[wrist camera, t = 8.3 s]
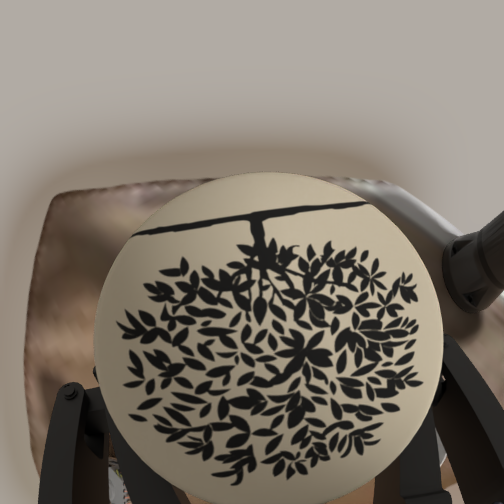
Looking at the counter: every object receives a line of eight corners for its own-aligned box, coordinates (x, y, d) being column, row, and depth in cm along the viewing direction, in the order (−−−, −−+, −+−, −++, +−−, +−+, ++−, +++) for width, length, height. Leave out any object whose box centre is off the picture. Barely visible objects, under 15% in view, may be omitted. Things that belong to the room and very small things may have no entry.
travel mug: (299, 406, 20) (457, 465, 3) (201, 411, 19) (93, 506, 3) (293, 314, 23) (407, 170, 7) (199, 317, 22) (112, 168, 6)
